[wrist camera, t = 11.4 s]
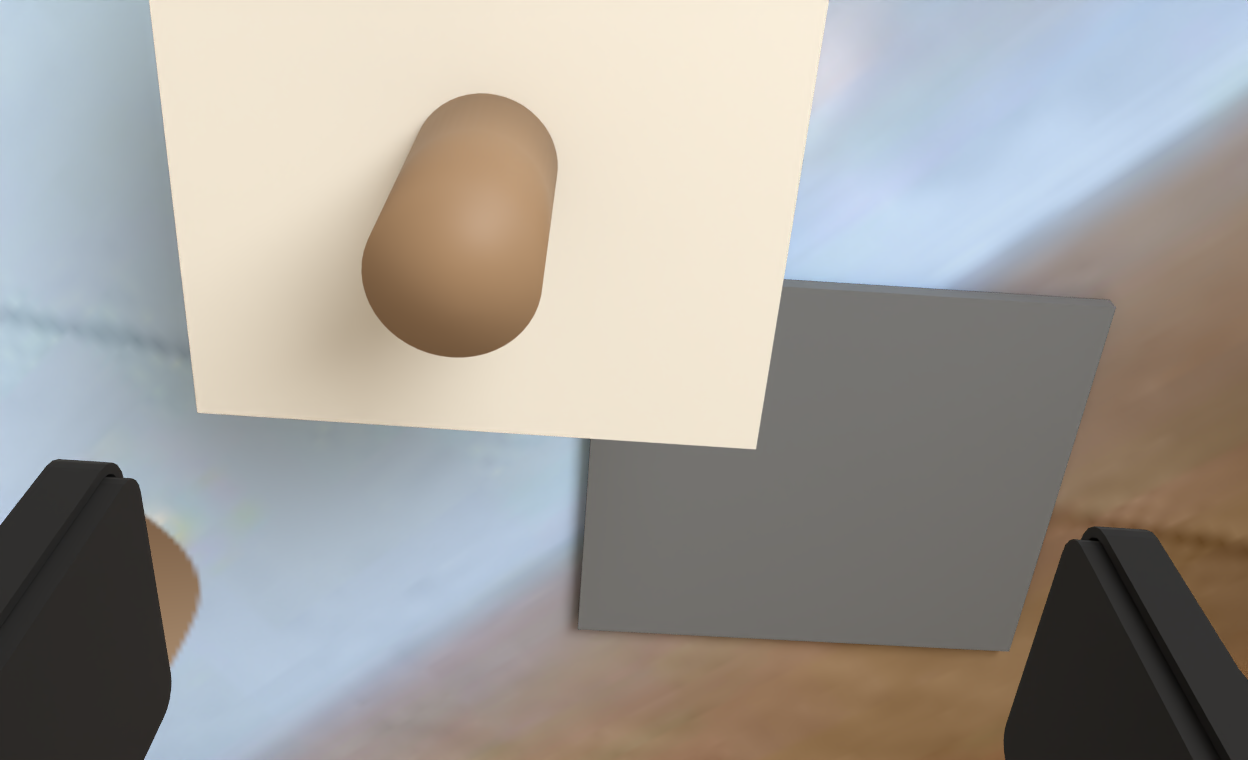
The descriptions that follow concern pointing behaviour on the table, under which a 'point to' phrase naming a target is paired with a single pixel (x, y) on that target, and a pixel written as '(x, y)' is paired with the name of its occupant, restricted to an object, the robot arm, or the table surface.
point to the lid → (487, 208)
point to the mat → (857, 477)
